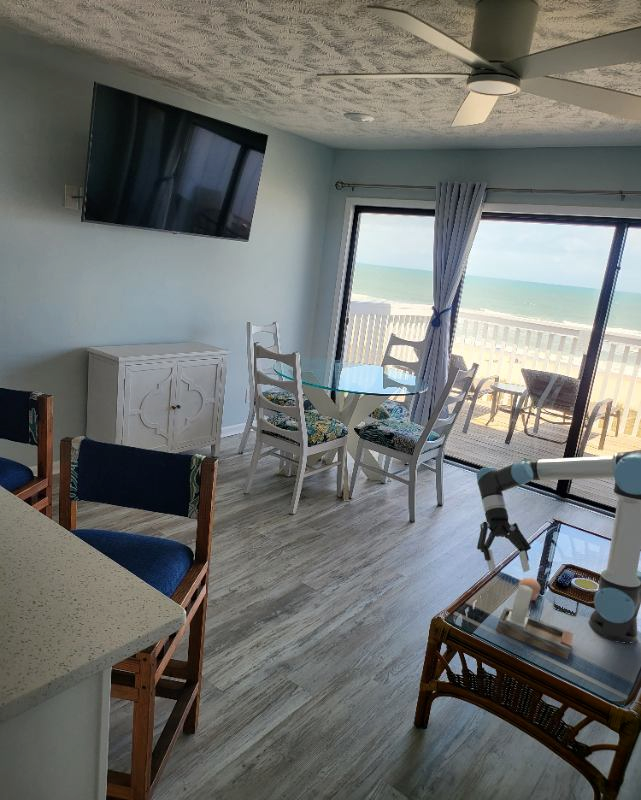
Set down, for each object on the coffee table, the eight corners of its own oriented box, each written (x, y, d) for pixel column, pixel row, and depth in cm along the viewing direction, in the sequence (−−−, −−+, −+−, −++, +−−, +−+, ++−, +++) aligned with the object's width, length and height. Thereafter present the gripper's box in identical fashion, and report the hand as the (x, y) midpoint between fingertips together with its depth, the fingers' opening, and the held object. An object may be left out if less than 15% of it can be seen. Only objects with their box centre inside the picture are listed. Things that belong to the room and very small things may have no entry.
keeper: (527, 622, 201) (536, 587, 199) (523, 631, 195) (533, 596, 192) (508, 615, 204) (517, 580, 201) (505, 624, 197) (514, 589, 195)
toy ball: (542, 604, 220) (547, 584, 219) (524, 605, 218) (529, 584, 216) (528, 593, 228) (533, 573, 226) (511, 593, 225) (516, 573, 224)
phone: (578, 598, 229) (576, 614, 216) (577, 601, 230) (575, 617, 216) (557, 590, 233) (552, 605, 219) (556, 593, 233) (552, 608, 219)
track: (570, 643, 197) (573, 632, 197) (567, 659, 188) (570, 647, 187) (502, 616, 207) (505, 605, 206) (496, 630, 197) (499, 619, 196)
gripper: (518, 515, 222) (533, 574, 211) (459, 512, 214) (471, 573, 203) (531, 508, 216) (547, 567, 205) (470, 504, 208) (484, 566, 197)
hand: (509, 570), depth 204 cm, fingers open, 13 cm apart
